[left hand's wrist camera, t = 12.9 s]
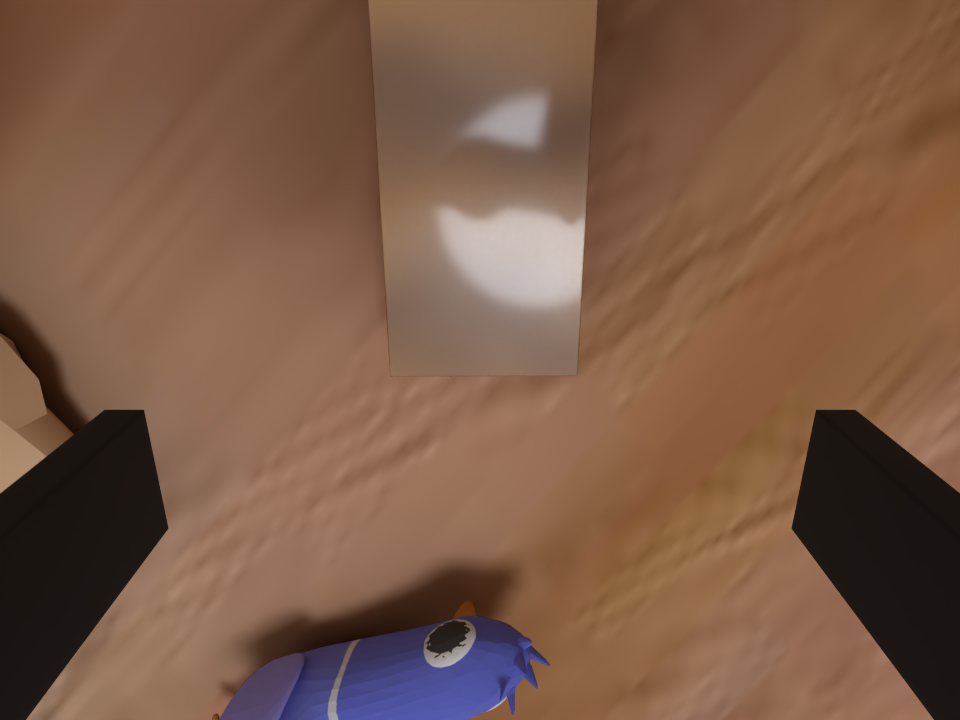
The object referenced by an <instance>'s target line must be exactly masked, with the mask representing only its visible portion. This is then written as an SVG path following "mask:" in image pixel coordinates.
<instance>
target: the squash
mask: <svg viewBox="0 0 960 720" xmlns="http://www.w3.org/2000/svg"><path fill="white" fill-rule="evenodd" d="M73 435H74V434H73V433H72V432H71V431H70V430H69V429H68V428H67V427H66V426H65V425H64V424H63V423H62V422H61V421H60V420H59V419H58V418H57V417H56V416H55V415H54V414H53V413H52V412H51V411H50V410H49V409H48V408H47V407H46V406H45V403H44V399H43V395H42V391H41V386H40V382H39V379H38V378H37V377H36V376H35V375H34V374H33V372H32V371H31V370H30V369H29V368H28V367H27V366H26V364H25V363H24V362H23V360H22V358H21V356H20V354H19V352H18V350H17V348H16V346H15V345H14V343H13V341H12V340H10V339H9V338H7V337H6V336H4V335H2V334H1V333H0V493H1V492H3V491H4V490H5V489H6V488H8V487H9V486H10V485H11V484H13V483H14V482H15V481H16V480H18V479H19V478H20V477H21V476H23V475H24V474H25V473H26V472H28V471H29V470H30V469H31V468H33V467H34V466H35V465H36V464H38V463H39V462H40V461H41V460H43V459H44V458H45V457H46V456H48V455H49V454H50V453H51V452H53V451H54V450H55V449H56V448H58V447H59V446H60V445H61V444H63V443H64V442H65V441H66V440H68V439H69V438H70V437H71V436H73Z"/></svg>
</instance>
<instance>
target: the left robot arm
mask: <svg viewBox="0 0 960 720" xmlns="http://www.w3.org/2000/svg"><path fill="white" fill-rule="evenodd" d="M167 530H168V524H167V520H166V515H165V510H164V505H163V500H162V495H161V490H160V486H159V481H158V476H157V471H156V466H155V461H154V457H153V452H152V447H151V442H150V437H149V432H148V427H147V423H146V418H145V413H144V410H104V411H103V412H101V413H100V414H99V415H98V416H96V417H95V418H94V419H93V420H91V421H90V422H89V423H88V424H86V425H85V426H84V427H83V428H81V429H80V430H79V431H78V432H76V433H75V434H74V435H73V436H71V437H70V438H69V439H68V440H66V441H65V442H64V443H63V444H61V445H60V446H59V447H58V448H56V449H55V450H54V451H53V452H51V453H50V454H49V455H48V456H46V457H45V458H44V459H43V460H41V461H40V462H39V463H38V464H36V465H35V466H34V467H33V468H31V469H30V470H29V471H28V472H26V473H25V474H24V475H23V476H21V477H20V478H19V479H18V480H16V481H15V482H14V483H13V484H11V485H10V486H9V487H8V488H6V489H5V490H4V491H3V492H1V493H0V720H26V719H27V718H28V716H29V715H30V714H31V712H32V711H33V710H34V708H35V707H36V705H37V704H38V703H39V701H40V700H41V699H42V697H43V696H44V695H45V693H46V692H47V691H48V689H49V688H50V687H51V685H52V684H53V683H54V681H55V680H56V679H57V677H58V676H59V675H60V673H61V672H62V671H63V669H64V668H65V667H66V665H67V664H68V663H69V661H70V660H71V658H72V657H73V656H74V654H75V653H76V652H77V650H78V649H79V648H80V646H81V645H82V644H83V642H84V641H85V640H86V638H87V637H88V636H89V634H90V633H91V632H92V630H93V629H94V628H95V626H96V625H97V624H98V622H99V621H100V620H101V618H102V617H103V616H104V614H105V613H106V611H107V610H108V609H109V607H110V606H111V605H112V603H113V602H114V601H115V599H116V598H117V597H118V595H119V594H120V593H121V591H122V590H123V589H124V587H125V586H126V585H127V583H128V582H129V581H130V579H131V578H132V577H133V575H134V574H135V573H136V571H137V570H138V569H139V567H140V566H141V565H142V563H143V562H144V560H145V559H146V558H147V556H148V555H149V554H150V552H151V551H152V550H153V548H154V547H155V546H156V544H157V543H158V542H159V540H160V539H161V538H162V536H163V535H164V534H165V532H166V531H167ZM792 530H793V531H794V532H795V534H796V535H797V536H798V538H799V539H800V540H801V542H802V543H803V544H804V546H805V547H806V548H807V550H808V551H809V552H810V554H811V555H812V556H813V558H814V559H815V560H816V562H817V563H818V565H819V566H820V567H821V569H822V570H823V571H824V573H825V574H826V575H827V577H828V578H829V579H830V581H831V582H832V583H833V585H834V586H835V587H836V589H837V590H838V591H839V593H840V594H841V595H842V597H843V598H844V599H845V601H846V602H847V603H848V605H849V606H850V607H851V609H852V610H853V611H854V613H855V614H856V616H857V617H858V618H859V620H860V621H861V622H862V624H863V625H864V626H865V628H866V629H867V630H868V632H869V633H870V634H871V636H872V637H873V638H874V640H875V641H876V642H877V644H878V645H879V646H880V648H881V649H882V650H883V652H884V653H885V654H886V656H887V657H888V658H889V660H890V661H891V663H892V664H893V665H894V667H895V668H896V669H897V671H898V672H899V673H900V675H901V676H902V677H903V679H904V680H905V681H906V683H907V684H908V685H909V687H910V688H911V689H912V691H913V692H914V693H915V695H916V696H917V697H918V699H919V700H920V701H921V703H922V704H923V705H924V707H925V708H926V710H927V711H928V712H929V714H930V715H931V716H932V718H933V719H934V720H960V493H959V492H957V491H956V490H955V489H954V488H952V487H951V486H950V485H949V484H947V483H946V482H945V481H944V480H942V479H941V478H940V477H939V476H937V475H936V474H935V473H934V472H932V471H931V470H930V469H929V468H927V467H926V466H925V465H924V464H922V463H921V462H920V461H919V460H917V459H916V458H915V457H914V456H912V455H911V454H910V453H909V452H907V451H906V450H905V449H904V448H902V447H901V446H900V445H899V444H897V443H896V442H895V441H894V440H892V439H891V438H890V437H889V436H887V435H886V434H885V433H884V432H882V431H881V430H880V429H879V428H877V427H876V426H875V425H874V424H872V423H871V422H870V421H869V420H867V419H866V418H865V417H864V416H862V415H861V414H860V413H859V412H857V411H856V410H816V413H815V418H814V423H813V427H812V432H811V437H810V442H809V447H808V452H807V457H806V461H805V466H804V471H803V476H802V481H801V486H800V490H799V495H798V500H797V505H796V510H795V515H794V520H793V524H792Z"/></svg>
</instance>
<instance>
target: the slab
mask: <svg viewBox="0 0 960 720" xmlns="http://www.w3.org/2000/svg"><path fill="white" fill-rule="evenodd" d="M368 6H369V23H370V40H371V57H372V74H373V91H374V108H375V125H376V143H377V160H378V177H379V194H380V211H381V228H382V245H383V262H384V279H385V296H386V313H387V330H388V347H389V364H390V376H577V375H578V359H579V340H580V322H581V303H582V285H583V266H584V248H585V229H586V211H587V192H588V174H589V155H590V137H591V118H592V100H593V81H594V63H595V44H596V26H597V7H598V0H368Z"/></svg>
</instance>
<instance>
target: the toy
mask: <svg viewBox="0 0 960 720" xmlns="http://www.w3.org/2000/svg"><path fill="white" fill-rule="evenodd" d="M531 645H532V641H531V640H530V639H529V638H527V637H524V636H523V635H522V634H521V633H520V632H518V631H517V630H516V629H514V628H513V627H512V626H510V625H509V624H507V623H504V622H501V621H497V620H493V619H489V618H485V617H480V616H476V611H475V608H474V605H473V604H472V602H471V601H470V600H467V601H465V602H464V603H463V604H462V605H461V606H460V607H459V609H458V610H457V612H456V613H455V615H454V617H453V619H451V620H446V621H442V622H438V623H434V624H430V625H426V626H422V627H418V628H414V629H409V630H404V631H399V632H394V633H389V634H384V635H379V636H374V637H369V638H364V639H359V640H354V641H349V642H344V643H339V644H334V645H329V646H324V647H320V648H317V649H313V650H310V651H306V652H303V653H293V654H290V655H287V656H284V657H281V658H278V659H275V660H272V661H270V662H269V663H267V664H266V665H264V666H263V667H261V668H260V669H258V670H257V671H256V672H255V673H253V674H252V675H251V676H250V677H249V678H248V679H247V681H246V682H245V683H244V684H243V685H242V686H241V687H240V688H239V690H238V691H237V692H236V694H235V695H234V696H233V698H232V699H231V701H230V702H229V704H228V705H227V707H226V709H225V710H224V712H223V714H222V716H221V717H220V718H219V716H218V714H214V716H213V718H212V720H466V719H469V718H471V717H474V716H476V715H479V714H481V713H484V712H487V711H490V710H492V709H494V708H496V707H497V706H499V705H500V704H501V703H502V702H503V701H504V700H505V699H506V698H507V697H508V700H509V705H510V709H511V713H512V715H514V711H515V688H516V687H517V685H518V684H519V683H520V681H521V680H522V678H523V677H525V678H526V679H527V680H528V681H529V682H530V683H531V684H532V685H533V686H534V687H535V688H536V689H537V688H538V687H537V682H536V679H535V675H534V672H533V669H532V666H531V664H530V659H534V660H536V661H538V662H540V663H542V664H545V665H547V666H550V664H549V663H548V662H547V660H546V659H545V658H544V657H543V656H542V655H541V654H540V653H539V652H537V651H536V650H535V649H534V648H533V647H532V646H531Z"/></svg>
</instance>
